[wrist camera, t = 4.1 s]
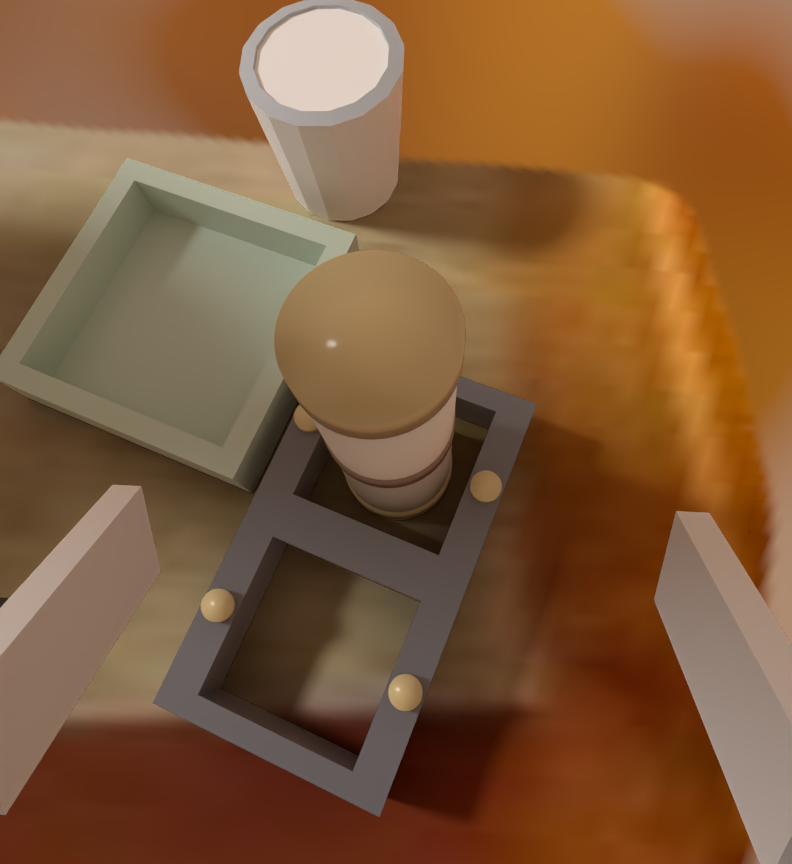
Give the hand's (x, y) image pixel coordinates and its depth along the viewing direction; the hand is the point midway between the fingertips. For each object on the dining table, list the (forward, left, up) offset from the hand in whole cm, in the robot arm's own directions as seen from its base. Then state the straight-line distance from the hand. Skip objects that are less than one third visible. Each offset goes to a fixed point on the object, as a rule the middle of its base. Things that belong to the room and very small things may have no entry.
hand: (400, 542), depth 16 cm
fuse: (-2, +4, -11) cm, 12 cm away
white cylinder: (-11, +17, -11) cm, 23 cm away
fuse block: (-2, 0, -11) cm, 11 cm away
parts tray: (-14, +7, -11) cm, 19 cm away
